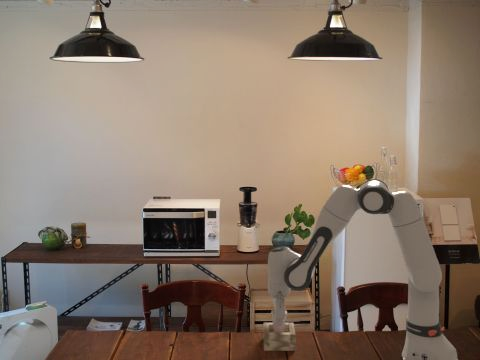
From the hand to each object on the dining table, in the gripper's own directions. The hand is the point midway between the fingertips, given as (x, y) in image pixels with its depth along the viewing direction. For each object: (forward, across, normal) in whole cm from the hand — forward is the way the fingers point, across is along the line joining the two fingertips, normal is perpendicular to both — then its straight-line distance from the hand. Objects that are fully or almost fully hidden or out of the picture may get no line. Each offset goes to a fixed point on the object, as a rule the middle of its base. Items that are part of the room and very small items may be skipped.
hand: (279, 322), depth 245 cm
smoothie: (+6, 0, 0) cm, 6 cm away
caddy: (+9, 0, 0) cm, 9 cm away
